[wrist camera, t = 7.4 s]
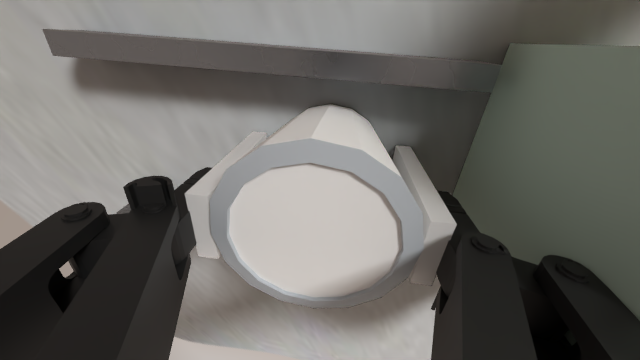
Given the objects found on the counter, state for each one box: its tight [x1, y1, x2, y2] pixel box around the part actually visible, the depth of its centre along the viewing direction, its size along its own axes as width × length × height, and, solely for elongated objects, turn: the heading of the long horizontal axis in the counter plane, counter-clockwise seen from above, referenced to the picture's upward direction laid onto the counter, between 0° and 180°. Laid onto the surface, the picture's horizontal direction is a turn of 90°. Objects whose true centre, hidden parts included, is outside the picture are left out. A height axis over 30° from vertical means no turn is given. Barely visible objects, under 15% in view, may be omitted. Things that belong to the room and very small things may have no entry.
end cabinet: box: [452, 43, 640, 345], centre depth 9 cm, size 12×4×10 cm, turn 176°
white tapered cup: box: [210, 104, 424, 308], centre depth 11 cm, size 7×7×7 cm
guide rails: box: [43, 29, 502, 214], centre depth 13 cm, size 10×18×2 cm, turn 86°
